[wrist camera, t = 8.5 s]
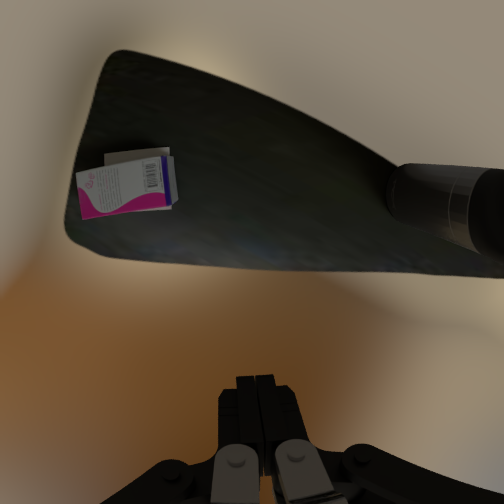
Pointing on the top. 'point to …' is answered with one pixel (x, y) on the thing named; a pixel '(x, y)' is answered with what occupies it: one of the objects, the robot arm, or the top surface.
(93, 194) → the supplement box
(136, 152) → the mat
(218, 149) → the top surface
